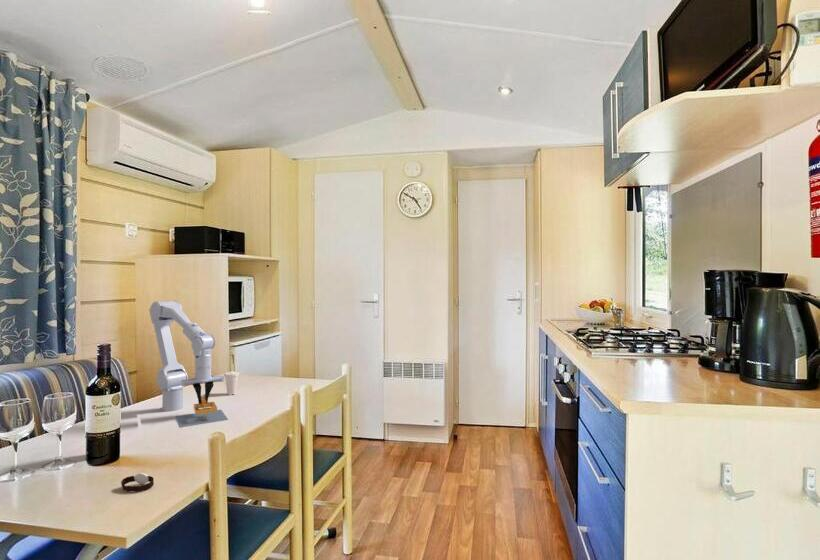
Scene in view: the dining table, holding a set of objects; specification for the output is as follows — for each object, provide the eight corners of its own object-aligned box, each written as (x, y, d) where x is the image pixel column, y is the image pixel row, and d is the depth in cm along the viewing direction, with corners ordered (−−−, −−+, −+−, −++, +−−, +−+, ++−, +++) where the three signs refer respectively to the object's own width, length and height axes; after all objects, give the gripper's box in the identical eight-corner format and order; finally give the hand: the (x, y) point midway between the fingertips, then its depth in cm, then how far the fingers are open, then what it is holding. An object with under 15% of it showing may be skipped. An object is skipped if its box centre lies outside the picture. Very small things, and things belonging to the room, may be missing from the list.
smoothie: (233, 396, 196) (233, 365, 196) (221, 395, 197) (221, 364, 197) (242, 392, 202) (242, 362, 202) (229, 392, 204) (229, 362, 204)
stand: (175, 418, 164) (175, 405, 164) (221, 412, 173) (221, 399, 173) (179, 430, 151) (179, 416, 151) (228, 422, 160) (228, 408, 160)
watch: (158, 484, 112) (158, 470, 112) (146, 493, 107) (146, 478, 107) (128, 484, 112) (128, 470, 112) (115, 493, 107) (115, 478, 107)
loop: (217, 411, 160) (217, 404, 160) (195, 414, 156) (196, 407, 156) (211, 401, 170) (211, 394, 170) (191, 403, 166) (191, 397, 166)
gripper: (182, 370, 159) (182, 408, 159) (225, 366, 167) (225, 402, 167) (180, 367, 165) (180, 403, 165) (222, 363, 172) (221, 397, 172)
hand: (202, 402), depth 166 cm, fingers closed on loop, 2 cm apart
